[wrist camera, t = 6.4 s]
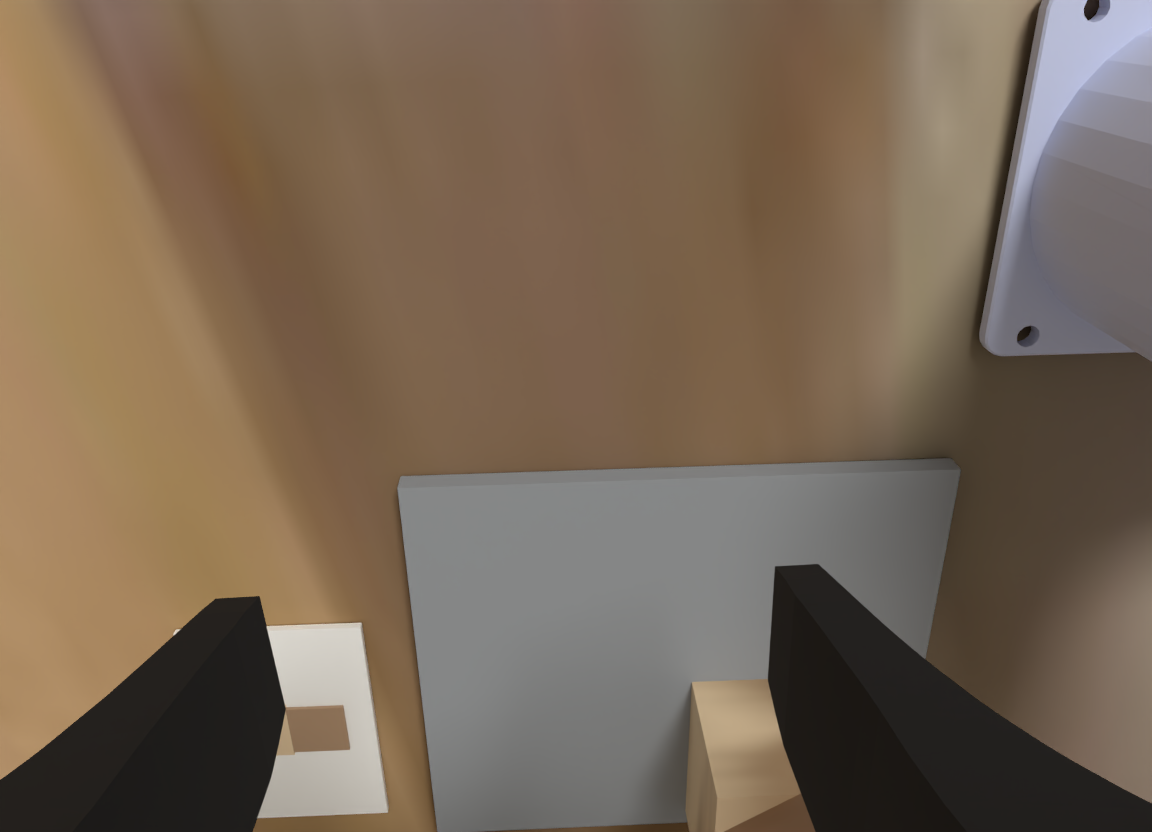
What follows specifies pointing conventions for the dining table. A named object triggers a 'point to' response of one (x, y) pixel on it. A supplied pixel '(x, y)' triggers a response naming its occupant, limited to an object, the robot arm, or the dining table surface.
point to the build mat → (631, 615)
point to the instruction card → (325, 725)
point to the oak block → (734, 755)
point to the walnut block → (779, 819)
